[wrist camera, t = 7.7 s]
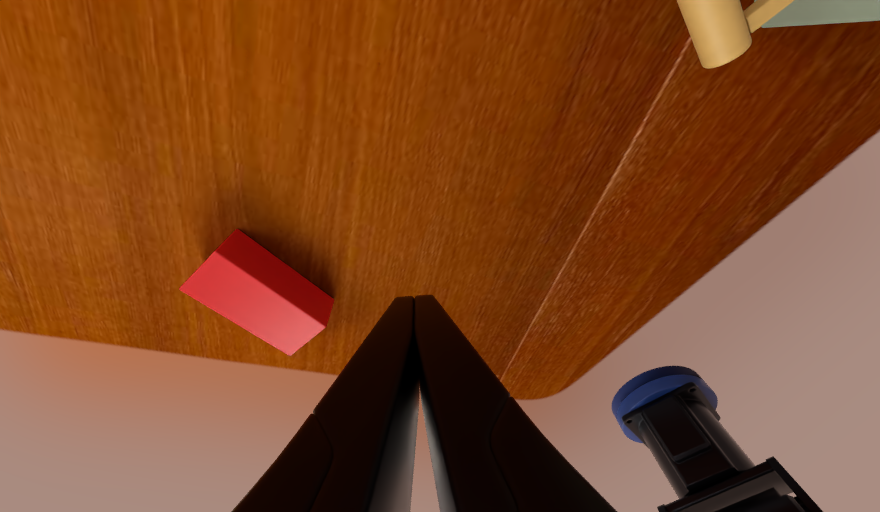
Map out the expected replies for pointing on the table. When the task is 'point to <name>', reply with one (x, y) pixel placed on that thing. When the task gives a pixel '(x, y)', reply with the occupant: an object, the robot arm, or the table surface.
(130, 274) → the table surface
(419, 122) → the table surface
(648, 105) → the table surface
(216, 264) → the red rectangular block
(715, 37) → the drawer
